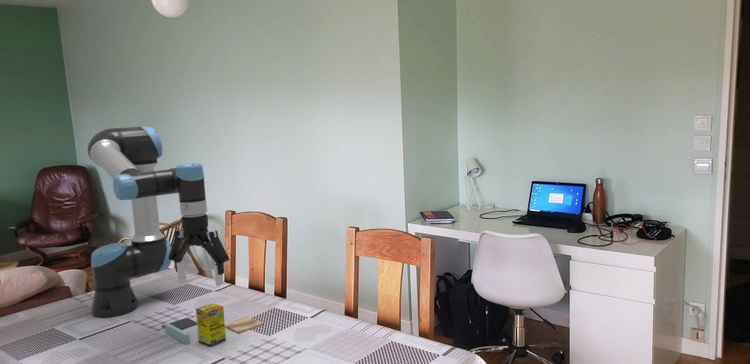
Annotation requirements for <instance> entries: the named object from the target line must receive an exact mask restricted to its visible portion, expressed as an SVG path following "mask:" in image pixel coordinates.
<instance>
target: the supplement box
mask: <svg viewBox="0 0 750 364" xmlns="http://www.w3.org/2000/svg"><path fill="white" fill-rule="evenodd" d="M224 310H225V309H224V305H221V304H217V303H213V302H210V303H209V304H205V305H202V306H200V307H196V308H195V314H196V322H197V325H196V327H197V328H196V329H197V338H198V339H197V340H198V343H200V344H201V345H204V346H207V347H213V346H214V345H217V344H219V343H222V342H225V341H226V340H227V338H226V328H225V324H226V323H225V313H224V312H225V311H224Z"/></svg>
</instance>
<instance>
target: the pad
mask: <svg viewBox="0 0 750 364" xmlns="http://www.w3.org/2000/svg"><path fill="white" fill-rule="evenodd" d="M263 325H264V324H263V322H261V321H259V320H257V319H254V318H252V317H249V316H245V317H241V318H238V319H236V320H233V321H229V322H227V323H225V329H228V330H229V331H233V332H234V333H236V334H238V335H240V334H241V333H245V332H247V331H250V330H252V329H256V328H257V327H260V326H263Z"/></svg>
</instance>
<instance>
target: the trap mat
mask: <svg viewBox="0 0 750 364" xmlns="http://www.w3.org/2000/svg"><path fill="white" fill-rule="evenodd" d="M168 323H169V324H171V325H173V326H175V327H176V328H178V329H180V330H182V331H184V330H185V329H188V328H192V327H194V326H197V321H195V320H193V319H191V318H190V317H185V318H184V317H183V318H181V319H179V320H175V321H172V322H168ZM160 326H161V328H163V329H165V324H162V325H160Z"/></svg>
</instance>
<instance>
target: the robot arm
mask: <svg viewBox="0 0 750 364" xmlns="http://www.w3.org/2000/svg"><path fill="white" fill-rule="evenodd" d="M87 154H88V157H89V159H90V160H91V162H93V163H94V164H95V165H97V166H99V167H101V168H102V169H103V170H104V171H105V172H106V174H107V175H109V177H110V178H111V179H112V186H113V187H112V188H113V192H114V194H115V197H116V199H117V200H118V201H125V200H129V201H131V209H132V217H133V229H134V236H132V238H130V243H131V244H129V245H127V244H126V242H116V243H115V242H114V243H110V244H105V245H102V246H100V247H98V248H96V249H94V251H93V252H92V253H91V255H90V257H91V258H90V259H91V263H90V266H91V268H92V269H91V270H92V277H93V285H94V286H93V287H94V295H93V299H92V304H91V315H92V316H93V317H96V318H111V317H117V316H121V315H126V314H129V313H131V312H133V311H134V310H136V309H137V308H139V302H138V298H137V296H136V294H135V292H134V290H133V288H132V286H131V285H132V284H131V279H132V278H136V277H141V276H145V275H150V274H153V273H154V274H157V273H159V272H163V271H166V270H167V269H169V268H170V266H171V263H172V262H174V267H175V272H176V273H177V282H178V285H179V284H183V283H185V282H187V271H186V264H185V260H184V259H183V258H184V257H185V255H186V254H187V252H188V250H189V249H190V248H191V247H193V246H196V247H201V248H203V249H204V250H205V251H206V252H207V254H208V255H209V256H210V258H211V259H212V260H213V262H215V264H214V265H213V267H214V269H213V270H214V279H215V280H214V281H215V287H219V286H221V285H223V284H224V274H225V265H224V264H225V263H226V262H228V261H230V257H229V255H228V253H227V251H226V249H225V247H224V245H223V243H222V241H221V240H220V237H219V233H218V230H215V229H214V230H212V231H209V229H208V228H209V217H208V214H207V212H208V206H207V197H206V187H205V186H206V185H205V173H204V168H203V165H202V163H200V162H187V163H186V162H185V163H179V164H178V165H176V167H172V168H171V167H170V168H168V169H161V170H154V169H155V167H156V166H157V164H158V163H159V162H158V159H160V158H162V156H163V145H162V139H161V137H160V136H159V134H158V132H157V130H156V129H155V128H154V127H152V126H133V127H132V126H131V127H117V128H116V127H115V128H114V127H113V128H107V129H103V130H101V131H99V132H97V133H95V134H94V136H92V138H91V139H90V141H89V142H88V145H87ZM172 194H173V195H174V194H178V200H179V208H180V209H179V210H180V215H181V219H180V221H181V228H182V229H179V230H175V231H174V239H173V243H172V242H170V240H169V239H168V238H166V236H165V234H163V233H162V231H160V218H159V217H160V216H159V209H158V200H157V199H158V198H157V197H158V196H166V195H172ZM183 238H184V239H185V240H184V241H183ZM171 243H172V244H171Z"/></svg>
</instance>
